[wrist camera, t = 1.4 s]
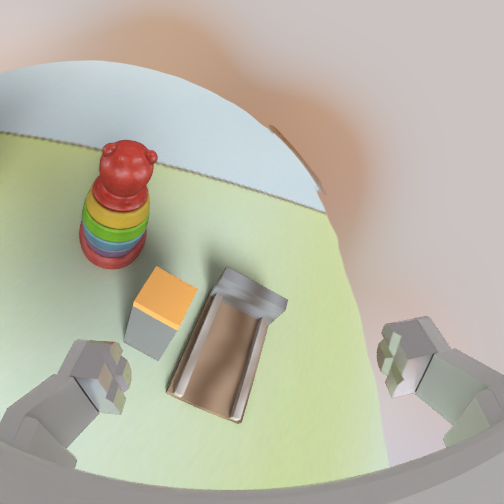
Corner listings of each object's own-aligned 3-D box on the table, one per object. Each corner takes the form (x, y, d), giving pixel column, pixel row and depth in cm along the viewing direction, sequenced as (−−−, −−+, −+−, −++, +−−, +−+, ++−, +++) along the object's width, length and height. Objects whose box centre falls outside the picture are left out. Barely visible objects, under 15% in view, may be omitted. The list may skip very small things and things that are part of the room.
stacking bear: (146, 225, 48) (178, 134, 36) (141, 277, 41) (174, 182, 30) (84, 213, 43) (99, 115, 31) (70, 263, 37) (74, 160, 25)
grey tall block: (123, 341, 34) (134, 300, 27) (140, 312, 38) (156, 265, 31) (158, 361, 35) (179, 326, 28) (172, 330, 39) (197, 289, 31)
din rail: (166, 393, 33) (177, 381, 29) (211, 288, 46) (227, 266, 42) (238, 423, 34) (260, 416, 30) (267, 318, 47) (287, 299, 43)
